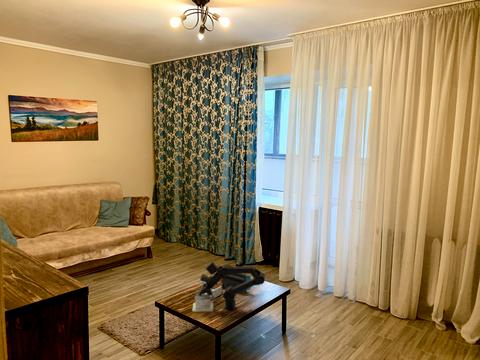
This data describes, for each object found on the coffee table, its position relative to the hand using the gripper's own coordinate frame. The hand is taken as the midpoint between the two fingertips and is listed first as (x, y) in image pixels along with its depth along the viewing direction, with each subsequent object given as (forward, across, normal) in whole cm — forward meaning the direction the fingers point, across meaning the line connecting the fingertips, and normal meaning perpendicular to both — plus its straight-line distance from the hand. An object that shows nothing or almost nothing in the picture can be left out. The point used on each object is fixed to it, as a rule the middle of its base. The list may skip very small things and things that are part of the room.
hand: (199, 294), depth 249 cm
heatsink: (+5, 0, +9) cm, 10 cm away
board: (+5, 0, +9) cm, 10 cm away
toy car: (+3, -21, +12) cm, 24 cm away
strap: (-1, 0, +3) cm, 3 cm away
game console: (-11, -27, +26) cm, 39 cm away
